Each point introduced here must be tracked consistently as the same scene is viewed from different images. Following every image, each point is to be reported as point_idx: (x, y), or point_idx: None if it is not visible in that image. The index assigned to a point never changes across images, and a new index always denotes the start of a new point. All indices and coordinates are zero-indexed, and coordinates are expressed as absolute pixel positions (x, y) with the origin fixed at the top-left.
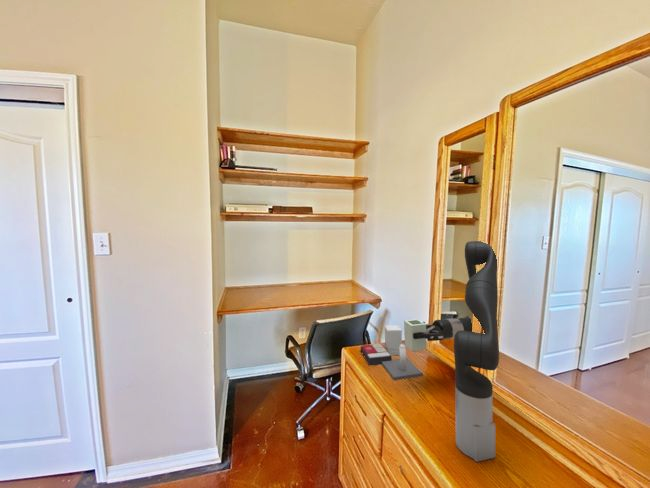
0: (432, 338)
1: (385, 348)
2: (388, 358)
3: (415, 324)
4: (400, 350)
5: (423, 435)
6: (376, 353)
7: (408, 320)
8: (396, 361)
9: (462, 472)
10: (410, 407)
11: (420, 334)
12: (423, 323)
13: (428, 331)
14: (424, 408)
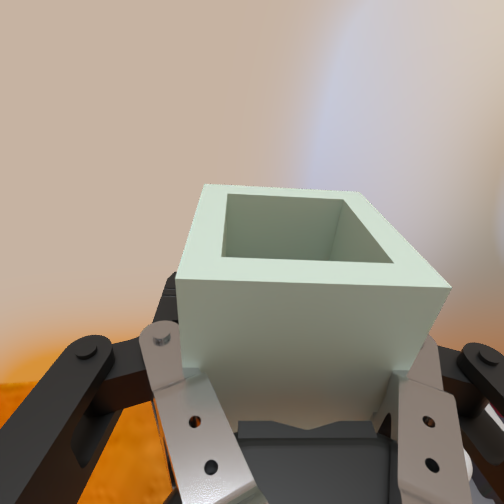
0: (83, 456)
1: None
2: (476, 468)
3: (223, 206)
4: None
5: (8, 400)
6: (489, 410)
7: (363, 208)
8: None
9: None
10: (129, 423)
11: (166, 303)
12: (221, 266)
13: (154, 388)
14: (93, 478)
